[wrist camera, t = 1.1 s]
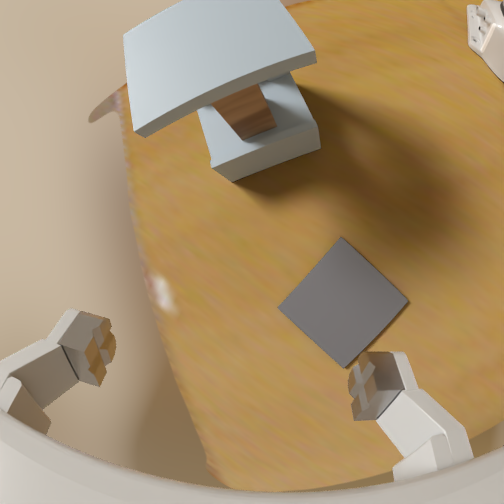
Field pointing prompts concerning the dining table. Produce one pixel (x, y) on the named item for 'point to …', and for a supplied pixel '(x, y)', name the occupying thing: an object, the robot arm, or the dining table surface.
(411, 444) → the robot arm
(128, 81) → the grey cantilever stand
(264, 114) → the walnut block
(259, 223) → the dining table surface
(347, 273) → the felt mat
